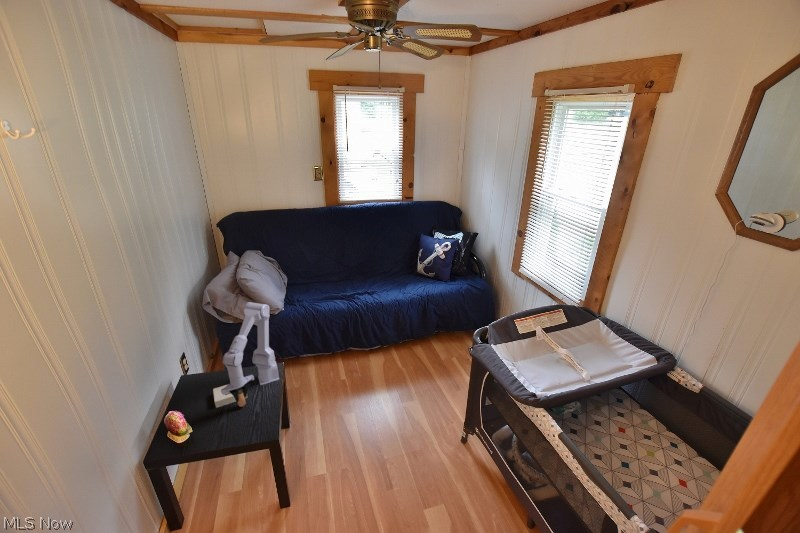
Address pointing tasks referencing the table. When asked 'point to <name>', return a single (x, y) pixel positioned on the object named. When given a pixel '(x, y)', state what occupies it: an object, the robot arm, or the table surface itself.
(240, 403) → the peg
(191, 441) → the table surface
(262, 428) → the table surface
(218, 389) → the socket plate
